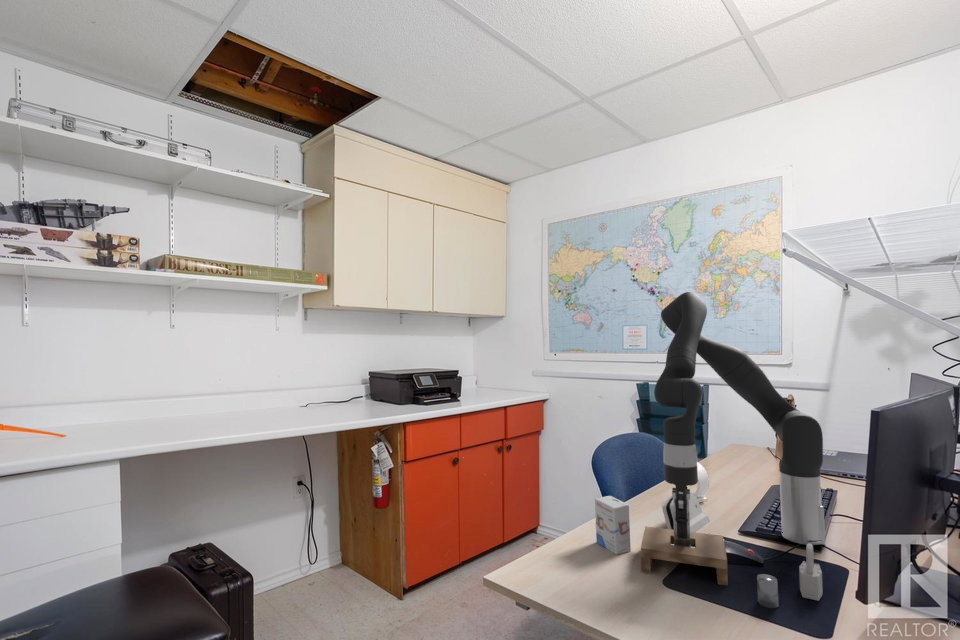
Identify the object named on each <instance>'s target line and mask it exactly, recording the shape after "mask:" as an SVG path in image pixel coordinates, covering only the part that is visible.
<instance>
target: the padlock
mask: <svg viewBox="0 0 960 640" xmlns="http://www.w3.org/2000/svg"><path fill="white" fill-rule="evenodd" d="M805 548H806V549H805V560H806V561H805V560H803V561H802V563H801V564H799V567H798V568H799V569H798V570H799V573H798V575H799V590H800V594H801V597H802V598H805V599H810V600H814V601H818V602H819V601H820V599H821V598H822V596H823V590H824V589H823V571H822V569H821V566H820V564H819V563H815V562H814V561H815V559H814V557H815V556H814V545H812V544H810V543H808V544H807V545H806V547H805Z"/></svg>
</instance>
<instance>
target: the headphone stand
mask: <svg viewBox="0 0 960 640" xmlns="http://www.w3.org/2000/svg"><path fill="white" fill-rule="evenodd" d="M697 471H698V482H697V484H696V485H697V486H696V490H695V493H694V494H695V495H696V497H697V500H698V502H699V504H700V503H704V502H708V498H707V497H705V496H706V495H707V494H708V492H709V490H710V478H709V475H708V472H707V470H706V468H705V467H704V466H703V465H702V464H701V463H699V462H698V461H697Z"/></svg>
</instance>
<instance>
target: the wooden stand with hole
mask: <svg viewBox="0 0 960 640" xmlns="http://www.w3.org/2000/svg"><path fill="white" fill-rule="evenodd" d="M690 545H691V547H683V546H676V545H674V530H671V529H668V528H663V527H654V526H653V527H652V526H645V527H644V530H643V536H642V539H641V544H640V573H644V574H651V573H652V572H651V571H652V566H653V559H654V560H662V561H665V562H667V561H668V562H674V563H681V564H686V565H687V564H688V565H695V566H696V565H697V566H702V567H709V568H715V572H716V580H717V584H718V585H720V586H729V581H728V580H729V579H728V578H729V577H728V556H727V553H726V546H725V541H724V535H719V534H712V533H703V532H702V533H701V532H697V531H696V532H690Z"/></svg>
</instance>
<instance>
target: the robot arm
mask: <svg viewBox="0 0 960 640" xmlns="http://www.w3.org/2000/svg"><path fill="white" fill-rule="evenodd" d="M707 314H708V308H707V305H706V303H705V301H704V300H703V299H702V298H701V297H700V296H699V295H698V294H696V293H694V292H691V291H685V292H683V293H681V294H680V295H678V297H676V298H675V299H673V300H672V301H671V302H670V303H669V304H668V305H666V306H665V307H664V308H663V309H662V310H661V312H660V316H661V319H662V322H663V323H664V324H665V326H666V327H667V328H668V329H669V330H670V331H671V332H672V333H673V334H674V335H673V337H672V340H671V342H670V343H669V346H668V349H667V353H666V359H665V365H664V369H663V371H662V372H661V374H660V376H659V378H658V379H657V381H656V384H655V386H654V391H653V395H654V399H655V401H656V403H657V404H658V405H659V406H661V407H664V408H675V409H676V408H677V409H678V408H680V409H681V408H682V409H685V412H684V413H683V414H681V415H678V416H677V415H676V416H669V417H667V418H665V419H664V420H663V451H662V452H663V454H662V457H663V479H664V481H665V482H666V483H668V484H671V485H674V486H675V487H671V488H672V490H671V496H672V498H673V504H674V511H675V512H676V518H675V520H676V522H677V537H678V538H680V539H687V522H688V519H687V513H688V512H689V500H690V493H691V488H688V486H690V487H691V486H695V485H697V482H698V471H697V462H698V451H697V446H696V421H697V415H698V411H699V407H700V405H701V400H702V397H703V388H702V385H701V383H700V382H699V381H698V380H697V379H696V378H694V377H695V375H696V374H695V373H696V364H697V354H698V356H699V357H700V358H701V359H703V361H705V362H706V363H707V364H708V366H709V367H710V368H711V369H713V371H714V372H715V373H716V374H717V375H718V376H719V377H720V378H721V380H723V381H724V382H725V383H726V384H727V385H728V387H730V389H732V390H733V391H734V392H735V393H736V394H738V396H739V397H741V398H742V399H743V400H744V401H746V403H748V404H750V405H751V407H753V408H754V409H755V410H756V411H757V412H758V413H759V414H760V415H761V416H762V417H763V419H764V420H765V421H766V422H767V424H768V425H769V426H770V427H771V429H772V430H773V432H774V433H775V434H776V435H777V436H778V438H779V439H780V440H781V442H782V443H781V444H782V456H781V459H780V460H779V462H778V467H779V468H778V469H779V470H778V471H779V472H778V475H779V494H780V495H779V496H780V497H779V498H780V499H779V500H780V516H781V517H780V521H781V524H780V525H781V526H780V528H781V536H782V537H783V538H784V539H786V540H788V541H790V542H792V543H796V544H800V545H806V546H807V544H808V543H810V544H812V545H813V546H817V545H822V546H823V545H824V546H825V545H826V531H825V529H826V526H825V509H824V508H825V507H824V506H823V505H822V487H821V486H822V485H821V484H822V483H821V468H822V465H823V463H824V462H823V460H824V459H823V458H824V456H823V455H824V438H823V430H822V427H821V425H820V423H819V421H818V420H817V419H815V418H814V417H813V416H811V415H808V414H806V413H803V412H801V411H800V410H799V409H797V407H795V406H793V405H792V404H791V403H790V402H789V401H788V400H786V399H785V398H784V397H783V396H782V395H781V394H780V393H779V392H778V391H777V389H776V388H775V387H774V386H773V384H772V383H771V381H770V380H769V378H768V376H767V375H766V374H765V372H764V370H762V369H761V368H760V366H759V365H758V364H757V363H756V362H755V361H754V360H753V359H752V358H751V357H750V356H749V355H748V353H746V352H745V351H743V350H742V349H740V348H738V347H736V346H733V345H731V344H726V343H724V342H719V341H717V340H714V339H711V338H710V337H707V336H706V335H705V334H702V331H703V329H704V328H703V327H704V324H705V321H706V318H707ZM678 514H680V515H685V517H678ZM782 532H783V533H782ZM809 540H822V541H817V542H807V541H809Z"/></svg>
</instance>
